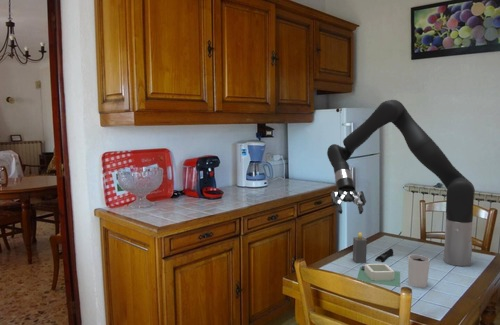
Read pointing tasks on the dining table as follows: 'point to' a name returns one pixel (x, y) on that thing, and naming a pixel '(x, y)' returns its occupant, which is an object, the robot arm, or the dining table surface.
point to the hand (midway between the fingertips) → (351, 213)
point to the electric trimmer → (385, 256)
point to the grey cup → (418, 270)
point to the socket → (379, 272)
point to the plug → (359, 249)
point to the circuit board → (392, 283)
